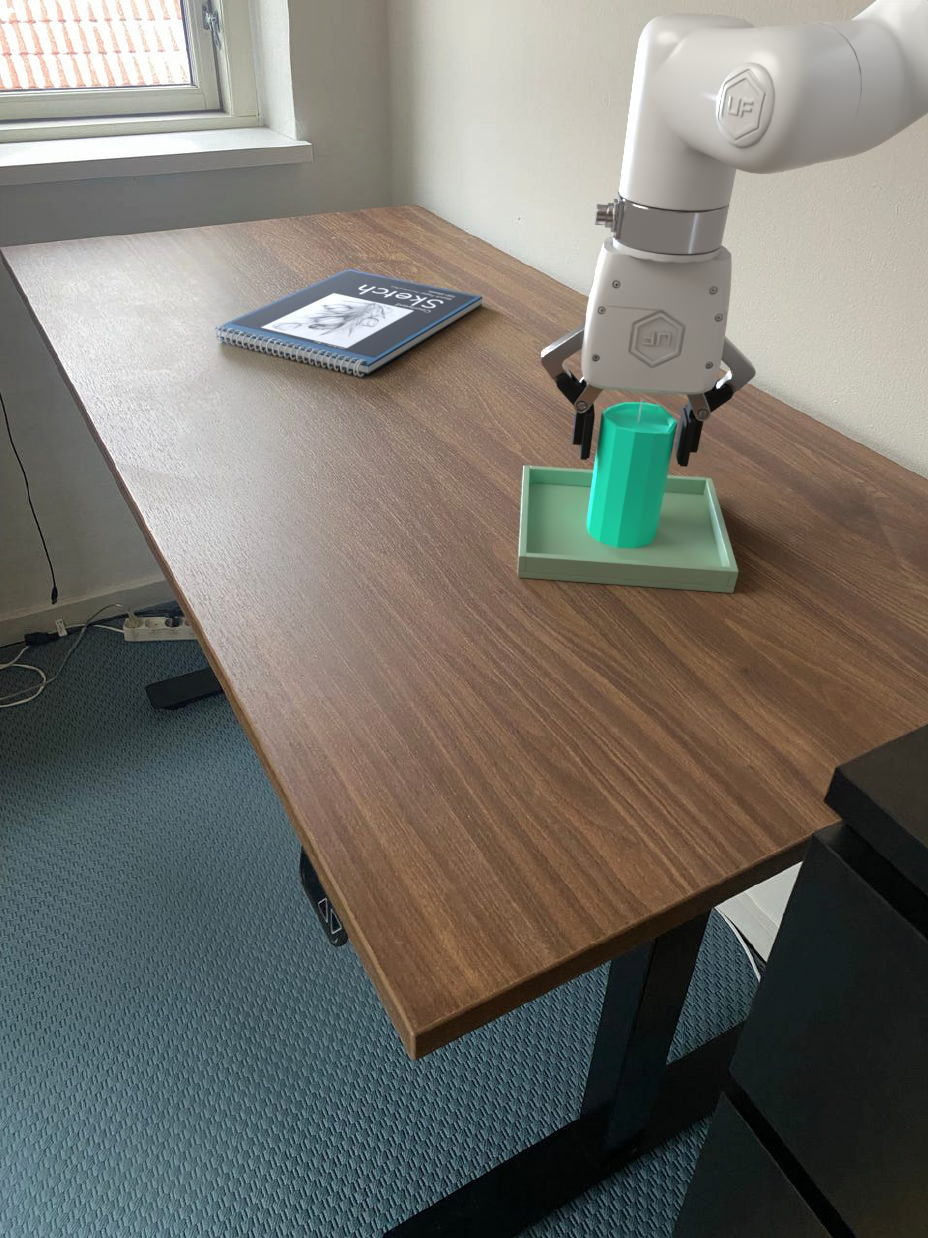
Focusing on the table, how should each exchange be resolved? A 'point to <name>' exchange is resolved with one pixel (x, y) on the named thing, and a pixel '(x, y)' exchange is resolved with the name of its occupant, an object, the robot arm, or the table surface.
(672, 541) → the tray
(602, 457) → the candle
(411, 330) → the sketchbook
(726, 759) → the table surface
